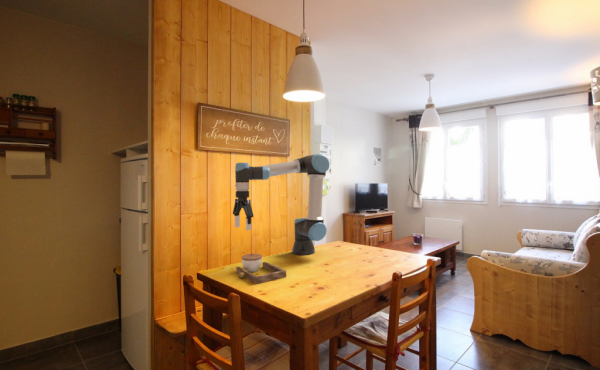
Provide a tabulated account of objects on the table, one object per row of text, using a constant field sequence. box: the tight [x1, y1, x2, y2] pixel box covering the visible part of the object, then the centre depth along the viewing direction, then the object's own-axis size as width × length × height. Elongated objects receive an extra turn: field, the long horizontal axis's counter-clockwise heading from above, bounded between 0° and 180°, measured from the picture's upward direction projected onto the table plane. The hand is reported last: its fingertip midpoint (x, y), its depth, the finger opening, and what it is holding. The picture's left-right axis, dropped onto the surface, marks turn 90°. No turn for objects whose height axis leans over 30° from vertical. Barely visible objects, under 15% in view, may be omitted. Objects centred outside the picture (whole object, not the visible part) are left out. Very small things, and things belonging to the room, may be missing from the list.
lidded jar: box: [241, 252, 263, 273], centre depth 161 cm, size 11×11×9 cm
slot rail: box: [235, 261, 287, 285], centre depth 153 cm, size 22×22×3 cm
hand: (242, 228), depth 166 cm, fingers open, 13 cm apart
